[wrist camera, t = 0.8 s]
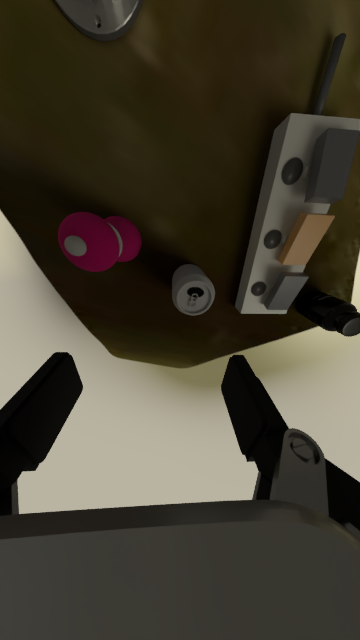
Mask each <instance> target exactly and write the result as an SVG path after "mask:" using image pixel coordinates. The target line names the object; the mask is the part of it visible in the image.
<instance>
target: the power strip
mask: <svg viewBox="0 0 360 640" xmlns="http://www.w3.org/2000/svg"><path fill="white" fill-rule="evenodd" d="M345 37H346V34H345V33H342V34H340V35H338V36H337V37H336V38H335V39H334V42H333V46H332V49H331V52H330V56H329V59H328V63H327V66H326V69H325V73H324V76H323V80H322V83H321V86H320V90H319V93H318V97H317V100H316V103H315V107H314V110H313V114H312V115H308V114H297V113H291V114H290V115H289V116H288V117H287V118H286V119H285V120H284V121H283V122H282V123H281V124H280V125H279V126H278V127H277V128H276V129H275V130H274V133H273V138H272V142H271V147H270V151H269V156H268V160H267V165H266V169H265V174H264V178H263V183H262V187H261V192H260V196H259V201H258V205H257V210H256V214H255V218H254V223H253V227H252V232H251V236H250V241H249V245H248V250H247V254H246V259H245V263H244V268H243V272H242V277H241V281H240V286H239V290H238V295H237V299H236V304H235V307H236V308H237V310H238V311H239V312H240V313H243V314H286V312H287V310H288V309H287V310H267V309H266V308H265V306H264V303H265V301H266V299H267V297H268V295H269V293H270V291H271V289H272V287H273V286H274V284H275V282H276V280H277V278H278V276H279V274H280V272H303V270H304V268H305V265H282V264H281V263H280V262H279V261H278V259H279V257H280V255H281V253H282V251H283V248H284V246H285V244H286V242H287V240H288V238H289V236H290V234H291V232H292V230H293V227H294V225H295V223H296V221H297V219H298V217H299V215H300V213H301V212H302V213H322V214H327V211H328V209H329V206H330V204H321V203H304V200H305V195H306V190H307V185H308V180H309V174H310V169H311V164H312V159H313V154H314V149H315V144H316V139H317V138H318V137H319V136H320V135H321V134H322V133H323V132H324V131H325V130H327V129H328V128H337V129H349V130H360V119H352V118H341V117H330V116H321V114H322V111H323V108H324V104H325V101H326V98H327V95H328V92H329V88H330V85H331V82H332V79H333V76H334V72H335V69H336V66H337V63H338V60H339V56H340V53H341V50H342V47H343V44H344V40H345Z"/></svg>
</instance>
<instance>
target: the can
mask: <svg viewBox="0 0 360 640" xmlns="http://www.w3.org/2000/svg"><path fill="white" fill-rule="evenodd" d="M214 296H215V290H214V286H213V284H212V283H211V281H210V280H209V279H208V277H207V276H206V275H205V274H204V273H203V271H202V270H201V269H200V268H199V267H197V266H196V265H192V264H185V265H182V266H180V267H179V268H178V269H176V271H175V272H174V274H173V277H172V299H173V302H174V305H175V306H176V307H177V309H178V310H179V311H181V312H183V313H185V314H188V315H199V314H202V313H204V312H205V311H207V310H208V309H209V307H210V306H211V304H212V302H213V300H214Z"/></svg>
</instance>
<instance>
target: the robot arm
mask: <svg viewBox="0 0 360 640" xmlns="http://www.w3.org/2000/svg"><path fill="white" fill-rule="evenodd" d="M142 1H143V0H55V2H56V4H57V5H58V7H59V8H60V9H61V11H62V12H63V14H64V15H65V16H66V18H67V19H68V20H69V21H70V22H71V23H72V24H73V25H74V27H76V28H77V29H78V30H80V31H81V32H82V33H83V34H85V35H87V36H89V37H91V38H93V39H95V40H100V41H110V40H115V39H117V38H119V37H121V36H122V35H123V34H124V33H125V32H126V31H127V30H128V29H130V27H131V25H132V24H133V22H134V21H135V19H136V17H137V15H138V13H139V10H140V8H141V5H142ZM99 27H100V28H99ZM82 389H83V385H82V382H81V379H80V376H79V374H78V371H77V368H76V365H75V363H74V360H73V357H72V356H71V355H69V353H67V352H56V353H54V354H53V355H52V356H51V357H50V358H49V359H48V360H47V361H46V362H45V363H44V364H43V365H42V366H41V367H40V369H39V370H38V371H37V372H36V373H35V374H34V375H33V376H32V377H31V378H30V379H29V380H28V381H27V382H26V383H25V384H24V385H23V387H21V389H20V390H19V391H18V392H17V393H16V394H15V395H14V396H13V397H12V398H11V399H10V400H9V401H8V402H7V403H6V404H5V406H4V407H3V408H2V409H1V410H0V640H360V482H358V481H357V480H356V479H354V478H353V477H351V476H350V475H348V474H347V473H346V472H344V471H343V470H341V469H340V468H338V467H337V466H335V465H334V464H332V463H331V462H330V461H328V460H327V459H325V458H324V454H323V453H322V450H321V449H320V447H319V446H318V445H317V443H316V442H315V441H314V440H313V439H312V438H311V437H310V436H309V435H307V434H306V433H304V432H302V431H300V430H298V429H293V428H292V429H289V428H288V426H287V425H286V423H285V421H284V420H283V418H282V416H281V414H280V413H279V411H278V410H277V408H276V406H275V405H274V403H273V401H272V400H271V398H270V396H269V394H268V393H267V391H266V390H265V388H264V386H263V384H262V383H261V381H260V380H259V378H257V377H256V376H255V374H254V372H253V371H252V369H251V367H250V365H249V364H248V362H247V360H246V359H245V357H244V356H243V355H233V356H232V357H230V359H229V362H228V365H227V369H226V372H225V375H224V378H223V381H222V385H221V390H222V394H223V396H224V400H225V403H226V406H227V409H228V413H229V416H230V419H231V422H232V425H233V428H234V431H235V434H236V437H237V441H238V444H239V447H240V450H241V452H242V454H243V455H245V456H246V459H247V462H249V461H255V463H256V465H257V468H258V471H259V473H258V477H257V481H256V486H255V490H254V494H253V499H252V500H241V501H218V502H201V503H182V504H166V505H150V506H134V507H119V508H103V509H87V510H73V511H59V512H45V513H44V512H43V513H29V514H19V508H18V486H17V479H18V477H19V476H20V474H21V472H22V471H35V470H36V469H37V467H38V465H39V463H41V462H42V461H43V460H44V459H45V458H46V456H47V454H48V452H49V451H50V449H51V447H52V445H53V443H54V442H55V440H56V438H57V436H58V434H59V432H60V431H61V429H62V427H63V425H64V423H65V421H66V420H67V418H68V416H69V414H70V412H71V410H72V409H73V407H74V405H75V403H76V401H77V400H78V398H79V396H80V394H81V392H82Z"/></svg>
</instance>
